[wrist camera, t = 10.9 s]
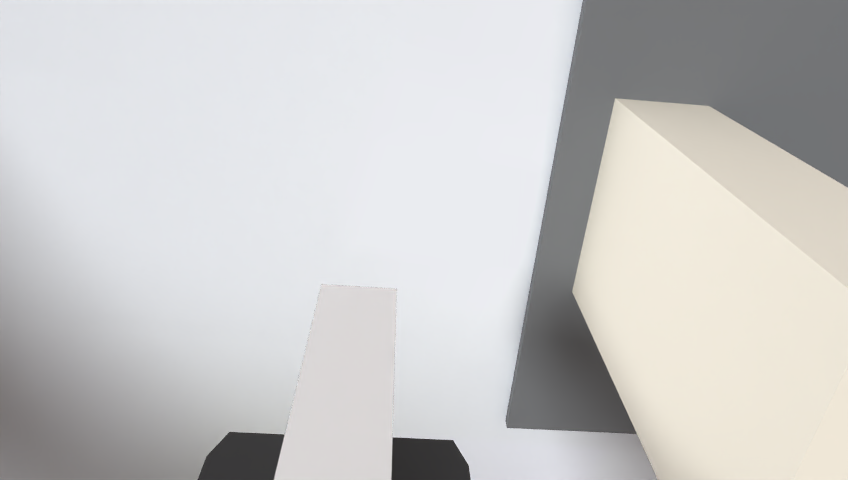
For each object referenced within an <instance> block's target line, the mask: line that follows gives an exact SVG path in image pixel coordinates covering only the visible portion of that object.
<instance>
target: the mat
mask: <svg viewBox="0 0 848 480" xmlns="http://www.w3.org/2000/svg"><path fill="white" fill-rule="evenodd" d="M615 98H617V99H629V100H642V101H654V102H666V103H679V104H691V105H704V106H710V107H712V108H713V109H715V110H717V111H718V112H720V113H722V114H723V115H725V116H727V117H729V118H730V119H732V120H734V121H735V122H737V123H739V124H740V125H742V126H744V127H746V128H747V129H749V130H751V131H752V132H754V133H756V134H757V135H759V136H761V137H763V138H764V139H766V140H768V141H769V142H771V143H773V144H774V145H776V146H778V147H780V148H781V149H783V150H785V151H786V152H788V153H790V154H791V155H793V156H795V157H796V158H798V159H800V160H802V161H803V162H805V163H807V164H808V165H810V166H812V167H813V168H815V169H817V170H819V171H820V172H822V173H824V174H825V175H827V176H829V177H830V178H832V179H834V180H836V181H837V182H839V183H841V184H842V185H844V186H846V187H847V188H848V0H583V3H582V9H581V14H580V19H579V25H578V30H577V36H576V41H575V47H574V52H573V57H572V63H571V68H570V74H569V79H568V85H567V90H566V95H565V101H564V106H563V112H562V117H561V123H560V128H559V133H558V139H557V144H556V150H555V155H554V161H553V166H552V171H551V177H550V182H549V188H548V193H547V198H546V204H545V209H544V215H543V220H542V226H541V231H540V236H539V242H538V247H537V253H536V258H535V264H534V269H533V274H532V280H531V285H530V291H529V296H528V302H527V307H526V312H525V318H524V323H523V329H522V334H521V340H520V345H519V350H518V356H517V361H516V367H515V372H514V378H513V383H512V388H511V394H510V399H509V405H508V410H507V416H506V426H507V428H523V429H545V430H567V431H588V432H610V433H632V434H637V433H636V431H635V429H634V426H633V424H632V422H631V420H630V418H629V415H628V413H627V411H626V409H625V407H624V404H623V402H622V400H621V398H620V396H619V393H618V391H617V389H616V387H615V385H614V382H613V380H612V378H611V376H610V374H609V372H608V369H607V367H606V365H605V363H604V361H603V358H602V356H601V354H600V352H599V350H598V347H597V345H596V343H595V341H594V339H593V336H592V334H591V332H590V330H589V328H588V325H587V323H586V321H585V319H584V317H583V314H582V312H581V310H580V308H579V306H578V303H577V301H576V299H575V297H574V295H573V293H572V290H573V286H574V281H575V277H576V272H577V268H578V263H579V259H580V254H581V250H582V245H583V241H584V236H585V232H586V227H587V223H588V218H589V214H590V209H591V205H592V200H593V196H594V191H595V187H596V182H597V178H598V173H599V169H600V164H601V160H602V155H603V151H604V146H605V142H606V137H607V133H608V128H609V124H610V119H611V115H612V110H613V106H614V101H615Z"/></svg>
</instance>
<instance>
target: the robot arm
mask: <svg viewBox="0 0 848 480" xmlns="http://www.w3.org/2000/svg"><path fill="white" fill-rule="evenodd" d="M396 301H397V289H394V288H377V287H360V286H343V285H327V284H321V287H320V291H319V295H318V299H317V304H316V308H315V312H314V316H313V320H312V324H311V328H310V332H309V337H308V341H307V345H306V349H305V353H304V357H303V361H302V366H301V370H300V374H299V378H298V382H297V386H296V390H295V394H294V399H293V403H292V407H291V411H290V415H289V419H288V423H287V428H286V432H285V435H282V434H260V433H238V432H229V433H228V434H227V435H226V436H225V438H224V439H223V440H222V441H221V442H220V443H219V444H218V445H217V446H216V447H215V448H214V449H213V450H212V451H211V452H210V453H209V455H208V456H207V457H206V460H205V462H204V465H203V467H202V470H201V473H200V475H199V478H198V480H470V473H469V466H468V464H467V462H466V461H465V459H464V457H463V456H462V454H461V453H460V451H459V449H458V448H457V446H456V444H455V443H454V441H453V440H435V439H413V438H393V405H394V370H395V336H396Z"/></svg>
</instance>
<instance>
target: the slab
mask: <svg viewBox="0 0 848 480" xmlns="http://www.w3.org/2000/svg"><path fill="white" fill-rule="evenodd" d="M572 293H573V295H574V297H575V299H576V301H577V303H578V306H579V308H580V310H581V312H582V314H583V317H584V319H585V321H586V323H587V325H588V328H589V330H590V332H591V334H592V336H593V339H594V341H595V343H596V345H597V347H598V350H599V352H600V354H601V356H602V358H603V361H604V363H605V365H606V367H607V369H608V372H609V374H610V376H611V378H612V380H613V382H614V385H615V387H616V389H617V391H618V393H619V396H620V398H621V400H622V402H623V404H624V407H625V409H626V411H627V413H628V415H629V418H630V420H631V422H632V424H633V426H634V429H635V431H636V433H637V435H638V437H639V440H640V442H641V444H642V446H643V448H644V451H645V453H646V455H647V457H648V459H649V461H650V464H651V466H652V468H653V470H654V472H655V475H656V477H657V479H658V480H848V188H847V187H846V186H844V185H842V184H841V183H839V182H837V181H836V180H834V179H832V178H830V177H829V176H827V175H825V174H824V173H822V172H820V171H819V170H817V169H815V168H813V167H812V166H810V165H808V164H807V163H805V162H803V161H802V160H800V159H798V158H796V157H795V156H793V155H791V154H790V153H788V152H786V151H785V150H783V149H781V148H780V147H778V146H776V145H774V144H773V143H771V142H769V141H768V140H766V139H764V138H763V137H761V136H759V135H757V134H756V133H754V132H752V131H751V130H749V129H747V128H746V127H744V126H742V125H740V124H739V123H737V122H735V121H734V120H732V119H730V118H729V117H727V116H725V115H723V114H722V113H720V112H718V111H717V110H715V109H713V108H712V107H710V106H704V105H691V104H679V103H666V102H654V101H642V100H629V99H617V98H615V101H614V106H613V110H612V115H611V119H610V124H609V128H608V133H607V137H606V142H605V146H604V151H603V155H602V160H601V164H600V169H599V173H598V178H597V182H596V187H595V191H594V196H593V200H592V205H591V209H590V214H589V218H588V223H587V227H586V232H585V236H584V241H583V245H582V250H581V254H580V259H579V263H578V268H577V272H576V277H575V281H574V286H573V290H572Z"/></svg>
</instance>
